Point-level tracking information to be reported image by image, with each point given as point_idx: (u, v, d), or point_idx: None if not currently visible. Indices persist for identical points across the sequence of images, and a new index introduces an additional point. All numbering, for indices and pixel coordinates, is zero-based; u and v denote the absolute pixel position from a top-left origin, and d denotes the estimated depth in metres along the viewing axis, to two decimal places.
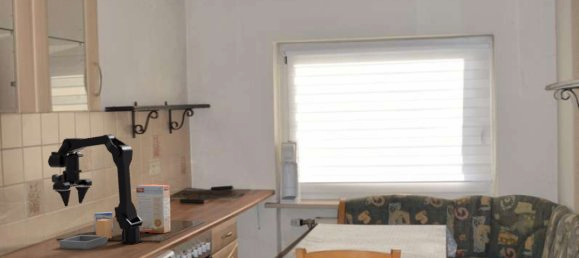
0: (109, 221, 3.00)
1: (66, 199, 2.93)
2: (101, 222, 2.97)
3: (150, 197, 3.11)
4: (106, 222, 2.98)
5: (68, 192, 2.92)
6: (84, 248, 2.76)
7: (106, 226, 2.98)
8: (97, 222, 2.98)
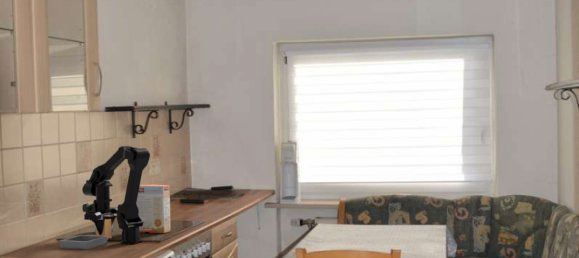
0: (109, 221, 3.00)
1: (100, 228, 2.96)
2: None
3: (150, 197, 3.11)
4: (106, 222, 2.98)
5: (102, 221, 2.95)
6: (84, 248, 2.76)
7: (106, 226, 2.98)
8: None
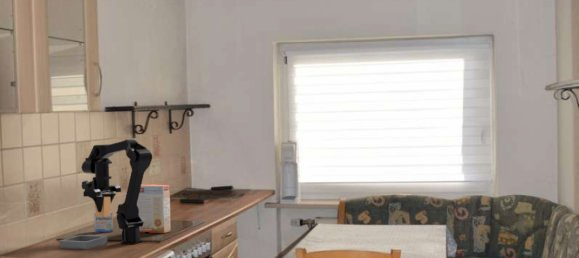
0: (108, 198, 3.00)
1: (100, 205, 2.96)
2: None
3: (150, 197, 3.11)
4: (105, 199, 2.98)
5: (102, 198, 2.95)
6: (84, 248, 2.76)
7: (105, 203, 2.98)
8: None
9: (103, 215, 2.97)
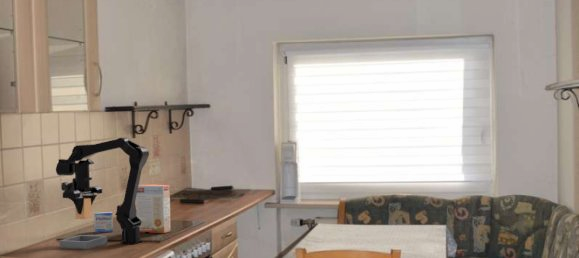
0: (89, 200, 2.93)
1: (80, 207, 2.89)
2: None
3: (150, 197, 3.11)
4: (85, 201, 2.91)
5: (82, 200, 2.88)
6: (84, 248, 2.76)
7: (85, 205, 2.91)
8: None
9: (83, 217, 2.90)
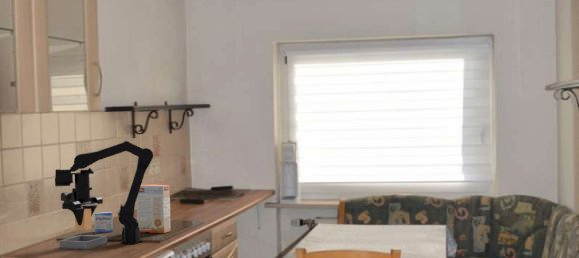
0: (89, 211, 2.84)
1: (80, 218, 2.80)
2: None
3: (150, 197, 3.11)
4: (85, 212, 2.82)
5: (82, 210, 2.79)
6: (84, 248, 2.76)
7: (85, 216, 2.82)
8: None
9: (83, 228, 2.81)
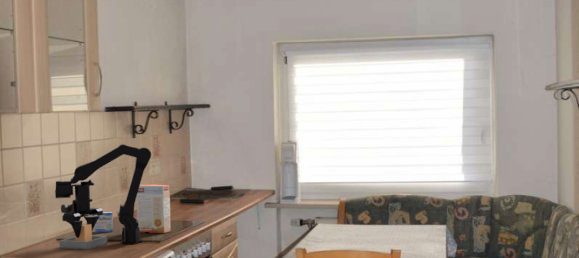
0: (89, 226, 2.84)
1: (78, 230, 2.79)
2: (81, 227, 2.82)
3: (150, 197, 3.11)
4: (86, 227, 2.82)
5: (80, 223, 2.78)
6: (84, 248, 2.76)
7: (86, 231, 2.82)
8: None
9: None
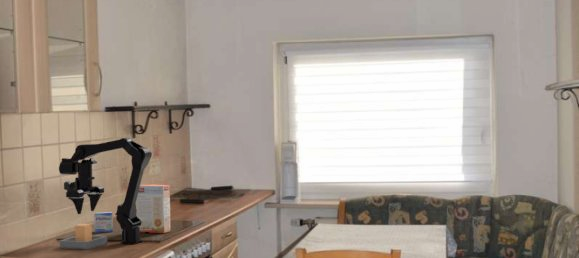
0: (89, 226, 2.84)
1: (79, 207, 2.87)
2: (81, 227, 2.82)
3: (150, 197, 3.11)
4: (86, 227, 2.82)
5: (82, 200, 2.86)
6: (84, 248, 2.76)
7: (86, 231, 2.82)
8: (76, 227, 2.83)
9: None
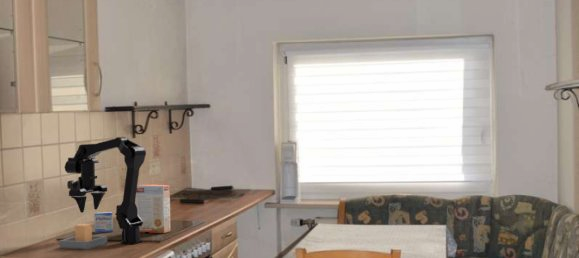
0: (89, 226, 2.84)
1: (82, 205, 2.93)
2: (81, 227, 2.82)
3: (150, 197, 3.11)
4: (86, 227, 2.82)
5: (84, 198, 2.92)
6: (84, 248, 2.76)
7: (86, 231, 2.82)
8: (76, 227, 2.83)
9: None
